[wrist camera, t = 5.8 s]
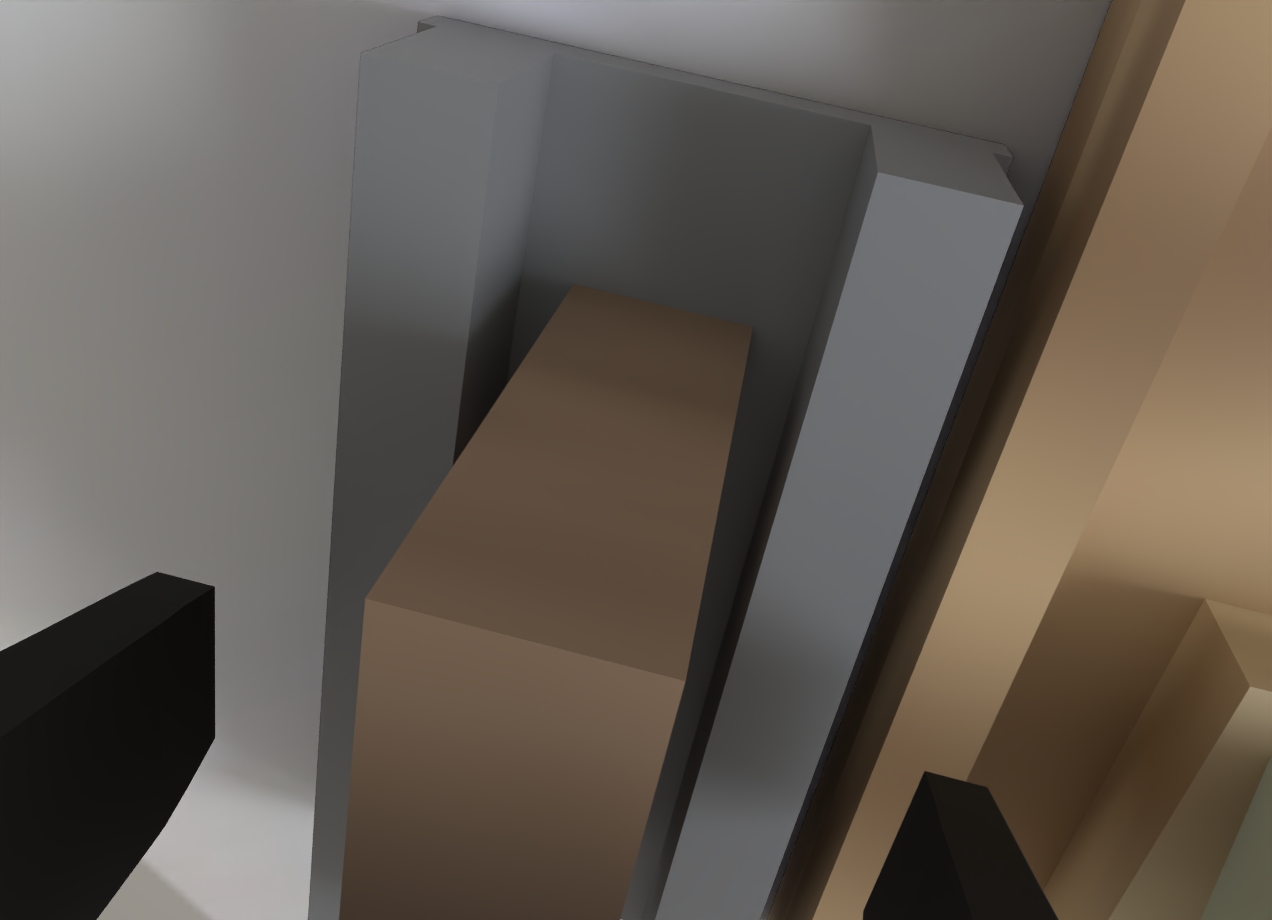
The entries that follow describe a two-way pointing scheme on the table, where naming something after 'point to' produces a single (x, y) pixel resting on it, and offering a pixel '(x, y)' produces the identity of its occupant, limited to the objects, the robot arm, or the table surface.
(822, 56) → the table surface
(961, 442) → the tray
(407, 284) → the holder
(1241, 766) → the offcut
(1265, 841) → the offcut
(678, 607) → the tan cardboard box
